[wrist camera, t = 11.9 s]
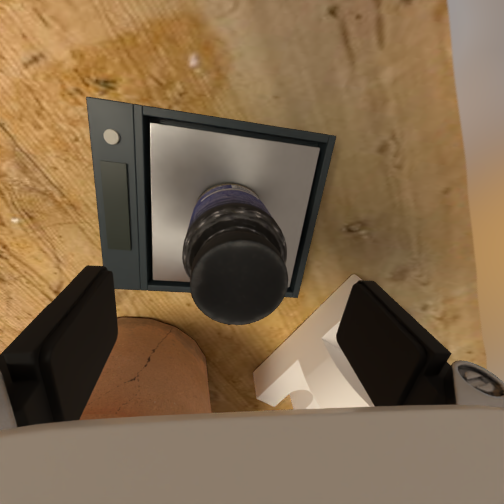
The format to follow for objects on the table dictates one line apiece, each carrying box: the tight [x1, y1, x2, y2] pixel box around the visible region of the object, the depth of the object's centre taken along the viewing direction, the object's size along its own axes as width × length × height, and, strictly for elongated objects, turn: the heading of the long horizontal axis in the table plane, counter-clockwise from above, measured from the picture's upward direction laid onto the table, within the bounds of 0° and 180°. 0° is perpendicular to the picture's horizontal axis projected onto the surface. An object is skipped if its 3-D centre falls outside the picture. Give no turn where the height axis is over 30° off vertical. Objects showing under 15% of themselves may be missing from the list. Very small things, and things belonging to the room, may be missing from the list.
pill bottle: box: [182, 183, 288, 325], centre depth 17 cm, size 6×6×11 cm
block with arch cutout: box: [253, 274, 375, 409], centre depth 28 cm, size 18×10×11 cm, turn 140°
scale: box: [86, 97, 336, 298], centre depth 23 cm, size 18×15×3 cm
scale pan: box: [150, 123, 320, 287], centre depth 23 cm, size 13×13×1 cm
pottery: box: [80, 317, 212, 420], centre depth 25 cm, size 22×22×14 cm
